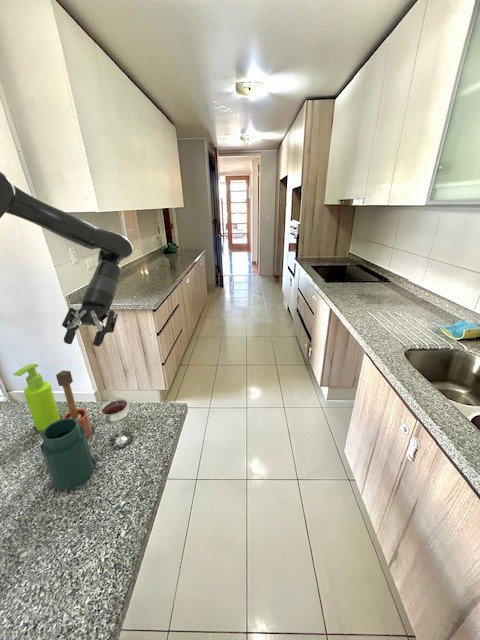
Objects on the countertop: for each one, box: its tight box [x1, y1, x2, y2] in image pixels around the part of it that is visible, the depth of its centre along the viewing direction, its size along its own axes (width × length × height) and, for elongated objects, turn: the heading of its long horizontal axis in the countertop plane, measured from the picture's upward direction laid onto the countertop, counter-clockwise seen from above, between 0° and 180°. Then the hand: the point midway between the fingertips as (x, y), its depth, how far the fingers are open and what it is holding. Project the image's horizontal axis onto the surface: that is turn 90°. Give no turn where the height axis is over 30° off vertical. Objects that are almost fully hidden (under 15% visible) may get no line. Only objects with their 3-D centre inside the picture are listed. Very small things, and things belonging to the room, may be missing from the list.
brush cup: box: [61, 408, 93, 439], centre depth 71 cm, size 6×6×7 cm
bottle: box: [40, 418, 94, 491], centre depth 59 cm, size 8×8×14 cm
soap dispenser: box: [12, 362, 61, 432], centre depth 72 cm, size 6×7×20 cm
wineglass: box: [99, 397, 131, 445], centre depth 69 cm, size 7×7×12 cm
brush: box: [55, 370, 82, 421], centre depth 69 cm, size 3×3×20 cm
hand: (81, 344), depth 71 cm, fingers open, 8 cm apart
